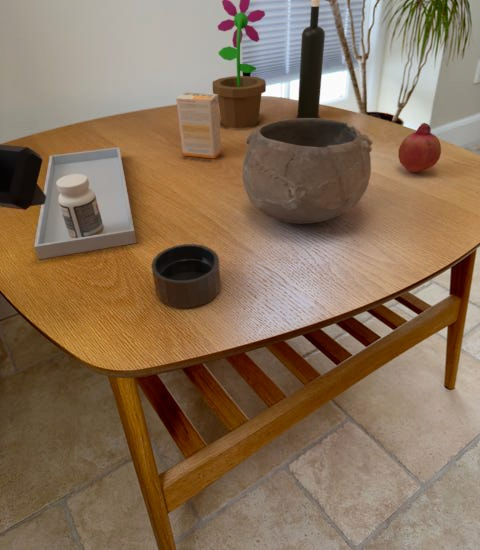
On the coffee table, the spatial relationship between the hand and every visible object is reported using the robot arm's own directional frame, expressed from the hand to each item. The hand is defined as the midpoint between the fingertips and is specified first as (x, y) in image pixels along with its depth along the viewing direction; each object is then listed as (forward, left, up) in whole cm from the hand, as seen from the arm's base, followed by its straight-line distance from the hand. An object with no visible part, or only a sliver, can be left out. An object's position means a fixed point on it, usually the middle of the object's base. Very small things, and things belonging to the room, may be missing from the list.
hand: (13, 196), depth 55 cm
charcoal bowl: (+20, -8, -14) cm, 25 cm away
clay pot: (+43, +7, -14) cm, 46 cm away
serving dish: (+6, +26, -14) cm, 30 cm away
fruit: (+72, +16, -14) cm, 75 cm away
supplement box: (+32, +41, -14) cm, 54 cm away
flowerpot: (+47, +61, -14) cm, 78 cm away
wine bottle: (+66, +58, -14) cm, 89 cm away
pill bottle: (+6, +11, -13) cm, 18 cm away
